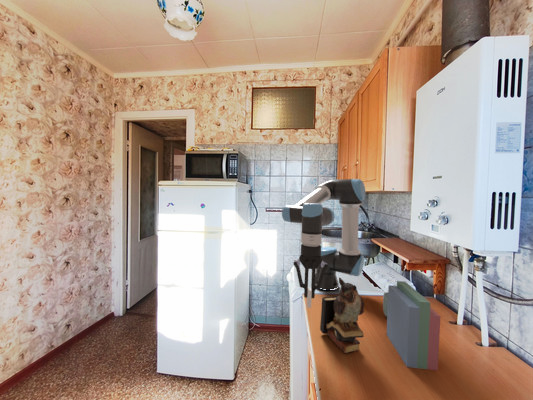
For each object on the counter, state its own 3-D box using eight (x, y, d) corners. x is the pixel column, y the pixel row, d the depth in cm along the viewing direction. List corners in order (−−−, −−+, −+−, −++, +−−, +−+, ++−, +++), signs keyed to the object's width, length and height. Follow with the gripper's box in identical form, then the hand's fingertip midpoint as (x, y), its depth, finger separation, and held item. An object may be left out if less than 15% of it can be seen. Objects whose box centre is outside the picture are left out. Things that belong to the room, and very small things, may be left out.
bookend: (319, 331, 85) (321, 270, 84) (342, 328, 88) (344, 268, 87) (340, 360, 71) (342, 286, 70) (367, 354, 73) (370, 284, 72)
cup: (406, 321, 93) (407, 298, 93) (394, 324, 91) (395, 301, 90) (391, 311, 101) (392, 291, 100) (378, 314, 98) (379, 293, 98)
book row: (386, 334, 84) (388, 280, 83) (411, 337, 83) (413, 282, 82) (406, 367, 68) (409, 300, 67) (437, 371, 67) (441, 303, 66)
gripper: (293, 245, 77) (291, 309, 77) (330, 247, 75) (327, 313, 75) (293, 240, 84) (292, 299, 85) (327, 243, 82) (325, 302, 83)
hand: (308, 305), depth 80 cm, fingers closed
